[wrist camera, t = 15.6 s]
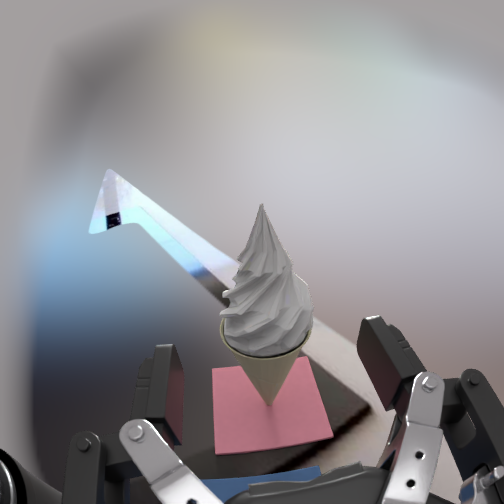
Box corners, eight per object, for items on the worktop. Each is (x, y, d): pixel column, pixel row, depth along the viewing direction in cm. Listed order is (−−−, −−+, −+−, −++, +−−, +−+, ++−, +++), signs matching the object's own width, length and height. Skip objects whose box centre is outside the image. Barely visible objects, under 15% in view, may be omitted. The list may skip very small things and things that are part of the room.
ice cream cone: (266, 444, 17) (253, 239, 9) (221, 401, 20) (179, 206, 13) (317, 402, 19) (342, 201, 12) (270, 367, 23) (263, 181, 16)
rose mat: (216, 455, 16) (215, 453, 16) (212, 370, 23) (212, 368, 23) (332, 437, 17) (333, 436, 17) (306, 358, 24) (307, 356, 24)
